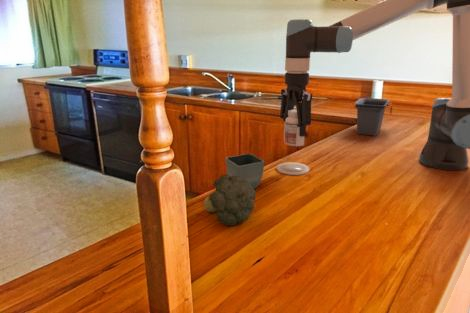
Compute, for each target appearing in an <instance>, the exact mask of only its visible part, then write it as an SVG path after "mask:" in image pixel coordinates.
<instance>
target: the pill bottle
mask: <svg viewBox="0 0 470 313" xmlns="http://www.w3.org/2000/svg"><path fill="white" fill-rule="evenodd" d="M297 125H299V124H298V116H297V109H296V108H294V109H293V110H288V117H287V118H286V120H285V141H284V144H285V145H287V146H293V147H297V146H296V133H297Z"/></svg>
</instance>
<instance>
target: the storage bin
mask: <svg viewBox="0 0 470 313" xmlns="http://www.w3.org/2000/svg"><path fill="white" fill-rule="evenodd" d="M390 101H391V100H390V99H387V98H375V97H361V98H358V100H356V101H355V102H354V104H355V105H354V109H356V110H357V111H356V133H357V134H358V135H365V136H377V134H378V133H379V132H380V130H381V128H382V125H383V119H384V115H385V111H386V109H387V108H388V109H390V111H389V115H392V114H393V105H392V104H389V103H390Z"/></svg>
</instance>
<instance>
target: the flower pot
mask: <svg viewBox="0 0 470 313" xmlns="http://www.w3.org/2000/svg"><path fill="white" fill-rule="evenodd" d="M225 165H226V171H227V175H230V176H242V177H244V178H246V179H247V182H248V183H249V184H250V185H251V187H252V188H253V189H254V190H255V189H256V188H257V187H258V186H259V185H260V182H261V181H262V178H263V175H264V174H263V173H264V167H265V160H263V159H261V158H259V157H257V156H256V155H254V154H253V153H244V154H239V155H234V156H226V157H225Z"/></svg>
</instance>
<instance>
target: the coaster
mask: <svg viewBox="0 0 470 313" xmlns="http://www.w3.org/2000/svg"><path fill="white" fill-rule="evenodd" d="M276 171H277V172H278V173H280V174H283V175H287V176H302V175H306V174H308V173H309V172H310V166H308V165H307V164H304V163H300V162H284V163H279V164H277V165H276Z"/></svg>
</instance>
